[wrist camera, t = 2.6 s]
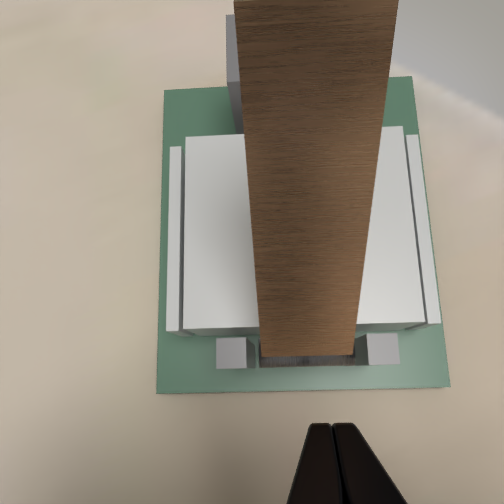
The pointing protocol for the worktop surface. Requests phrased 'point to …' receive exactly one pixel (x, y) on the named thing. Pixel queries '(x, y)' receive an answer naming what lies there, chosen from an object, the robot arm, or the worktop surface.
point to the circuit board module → (242, 257)
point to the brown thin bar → (311, 165)
